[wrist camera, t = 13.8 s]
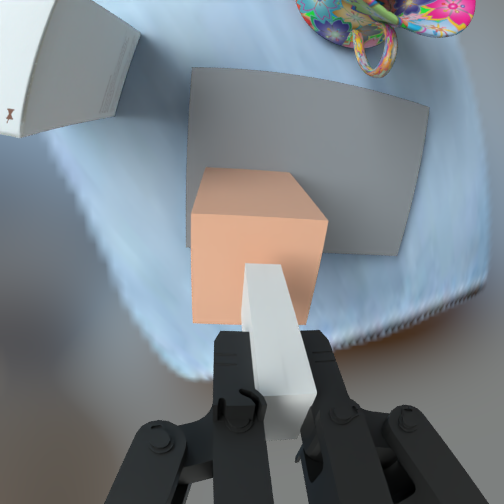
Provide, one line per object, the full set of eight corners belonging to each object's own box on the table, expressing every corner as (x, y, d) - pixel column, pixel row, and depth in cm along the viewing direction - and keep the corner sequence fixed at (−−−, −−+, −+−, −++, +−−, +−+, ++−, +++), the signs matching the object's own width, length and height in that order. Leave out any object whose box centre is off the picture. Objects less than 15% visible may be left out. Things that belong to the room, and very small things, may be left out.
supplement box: (144, 31, 17) (69, -21, 6) (115, 118, 20) (20, 144, 9) (67, 24, 16) (-32, -4, 5) (43, 105, 19) (-65, 128, 8)
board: (194, 69, 19) (192, 67, 18) (419, 106, 21) (429, 107, 20) (188, 239, 26) (186, 247, 24) (390, 248, 28) (397, 255, 26)
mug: (295, -52, 14) (334, -118, 5) (398, -16, 16) (473, -49, 6) (272, 68, 20) (307, 44, 10) (381, 98, 21) (466, 108, 12)
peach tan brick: (205, 167, 22) (190, 213, 13) (289, 172, 22) (328, 220, 14) (203, 243, 24) (192, 323, 16) (279, 246, 25) (305, 324, 17)
